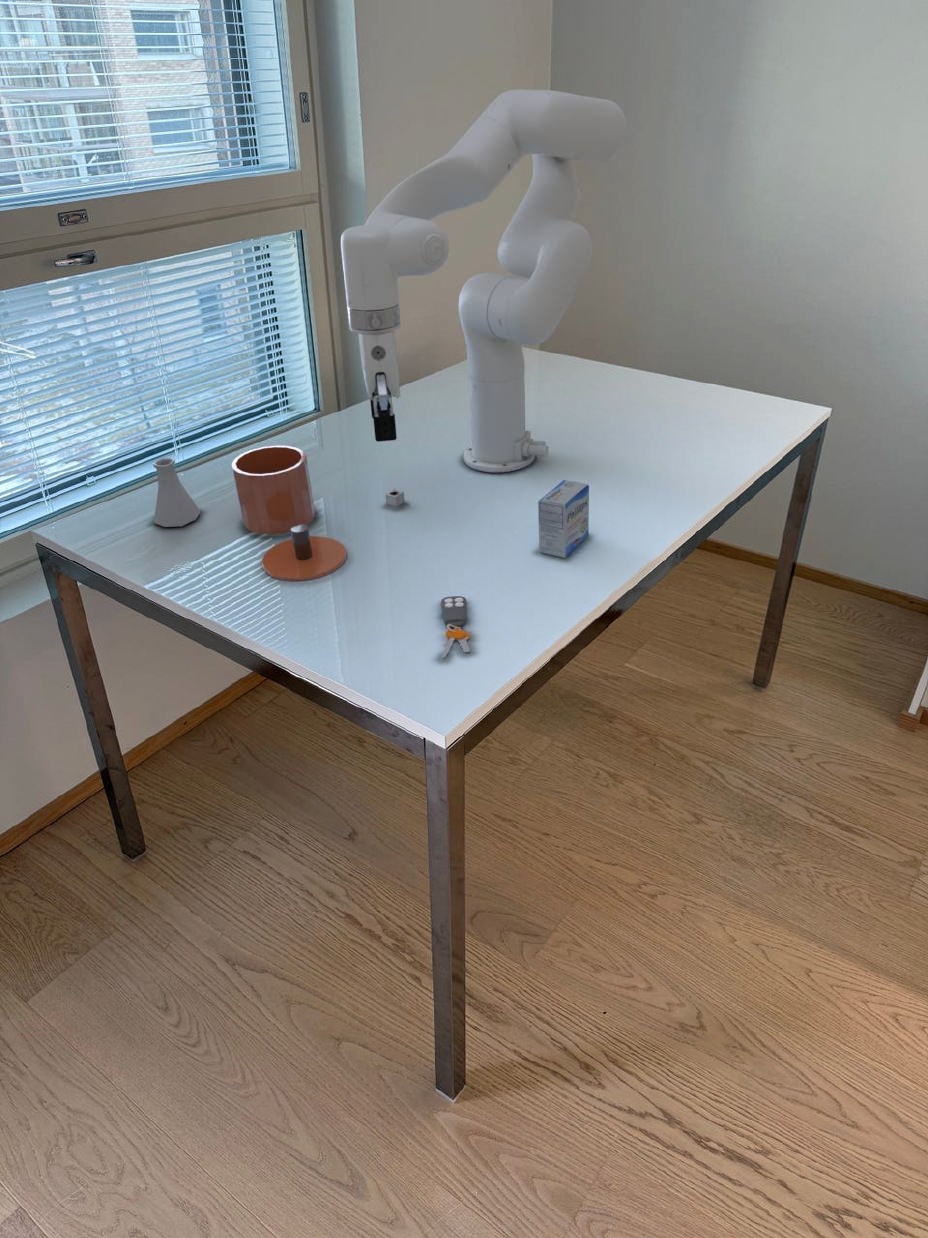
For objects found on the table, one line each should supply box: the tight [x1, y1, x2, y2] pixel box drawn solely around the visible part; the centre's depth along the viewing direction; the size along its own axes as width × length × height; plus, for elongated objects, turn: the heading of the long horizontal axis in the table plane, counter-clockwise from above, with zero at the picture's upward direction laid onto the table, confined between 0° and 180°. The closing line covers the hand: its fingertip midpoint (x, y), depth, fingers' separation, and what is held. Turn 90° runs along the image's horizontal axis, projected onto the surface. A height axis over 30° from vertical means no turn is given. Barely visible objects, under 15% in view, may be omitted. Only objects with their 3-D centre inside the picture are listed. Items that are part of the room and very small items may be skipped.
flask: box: [152, 457, 201, 528], centre depth 152 cm, size 7×7×10 cm
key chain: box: [440, 595, 471, 659], centre depth 123 cm, size 13×4×2 cm, turn 3°
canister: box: [230, 445, 316, 535], centre depth 149 cm, size 11×12×10 cm
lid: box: [261, 524, 347, 582], centre depth 139 cm, size 12×12×6 cm
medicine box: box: [537, 479, 590, 559], centre depth 138 cm, size 8×4×9 cm, turn 148°
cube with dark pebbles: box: [385, 489, 406, 508], centre depth 154 cm, size 2×2×2 cm
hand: (384, 428), depth 147 cm, fingers open, 9 cm apart
